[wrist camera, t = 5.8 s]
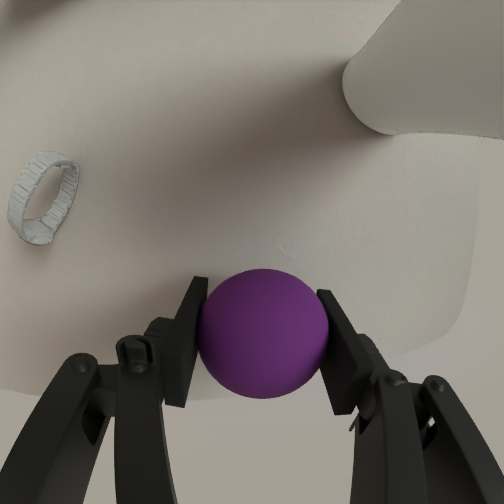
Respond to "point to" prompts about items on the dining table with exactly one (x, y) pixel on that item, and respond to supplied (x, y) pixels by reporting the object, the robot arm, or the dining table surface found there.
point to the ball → (262, 333)
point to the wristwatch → (19, 198)
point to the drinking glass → (432, 70)
